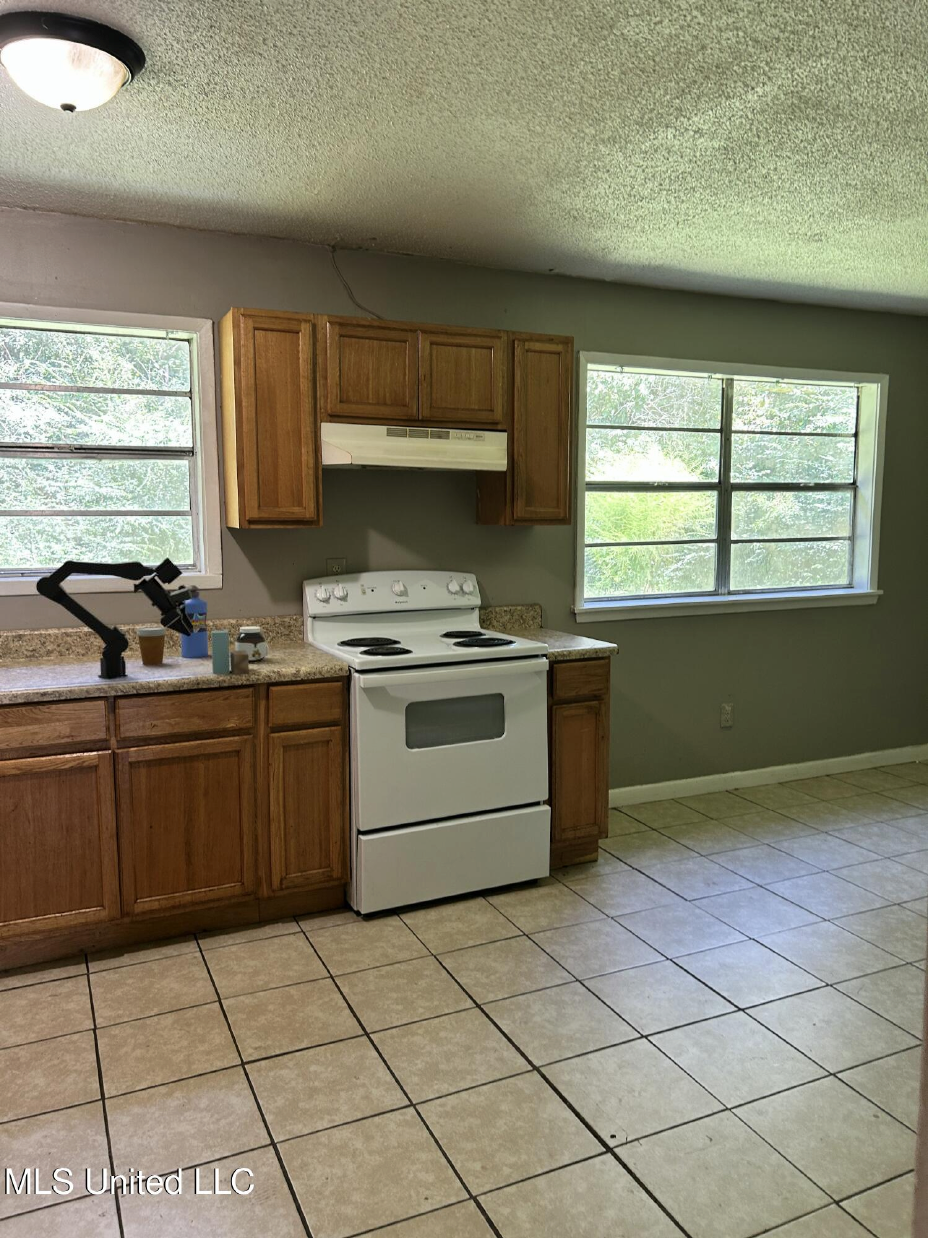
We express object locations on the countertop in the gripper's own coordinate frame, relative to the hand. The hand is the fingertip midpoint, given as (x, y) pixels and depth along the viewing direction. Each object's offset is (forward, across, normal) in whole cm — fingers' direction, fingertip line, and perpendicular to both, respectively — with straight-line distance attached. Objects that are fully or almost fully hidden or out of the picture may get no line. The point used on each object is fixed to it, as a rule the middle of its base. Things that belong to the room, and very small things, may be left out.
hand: (191, 631), depth 292 cm
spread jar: (+24, +20, -4) cm, 31 cm away
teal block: (+16, -2, +1) cm, 16 cm away
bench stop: (+19, -2, -3) cm, 20 cm away
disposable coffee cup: (+3, +18, +21) cm, 28 cm away
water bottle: (+12, +32, +13) cm, 37 cm away
